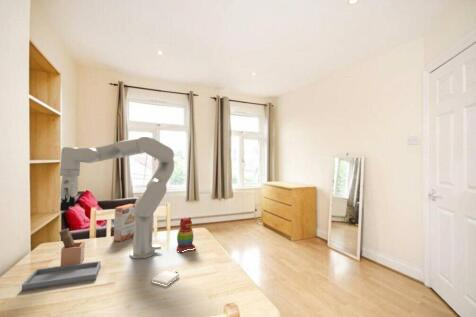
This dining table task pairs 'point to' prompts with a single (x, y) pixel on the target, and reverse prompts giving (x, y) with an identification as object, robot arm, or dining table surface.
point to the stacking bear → (185, 235)
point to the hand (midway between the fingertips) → (67, 208)
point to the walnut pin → (67, 238)
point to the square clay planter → (73, 254)
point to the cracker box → (124, 222)
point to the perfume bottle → (165, 277)
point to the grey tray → (62, 275)
